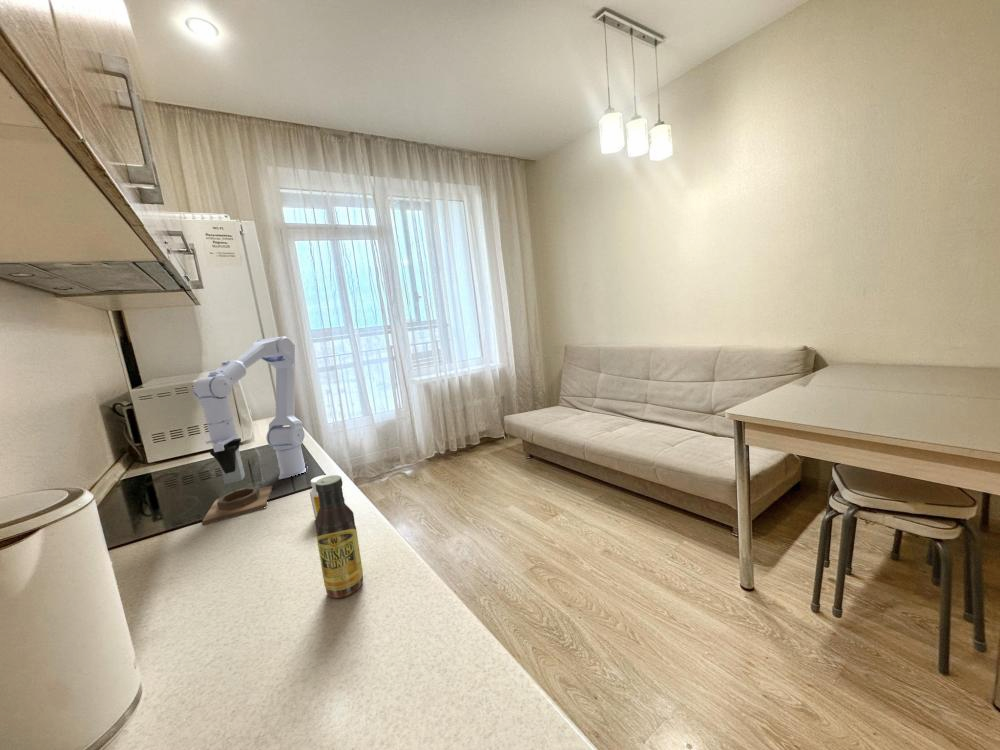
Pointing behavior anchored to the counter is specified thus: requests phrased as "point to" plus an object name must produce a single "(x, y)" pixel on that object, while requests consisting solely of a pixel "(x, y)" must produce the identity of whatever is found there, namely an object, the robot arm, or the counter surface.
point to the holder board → (238, 503)
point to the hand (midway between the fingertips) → (232, 469)
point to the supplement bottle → (315, 495)
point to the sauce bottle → (337, 540)
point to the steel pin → (238, 472)
